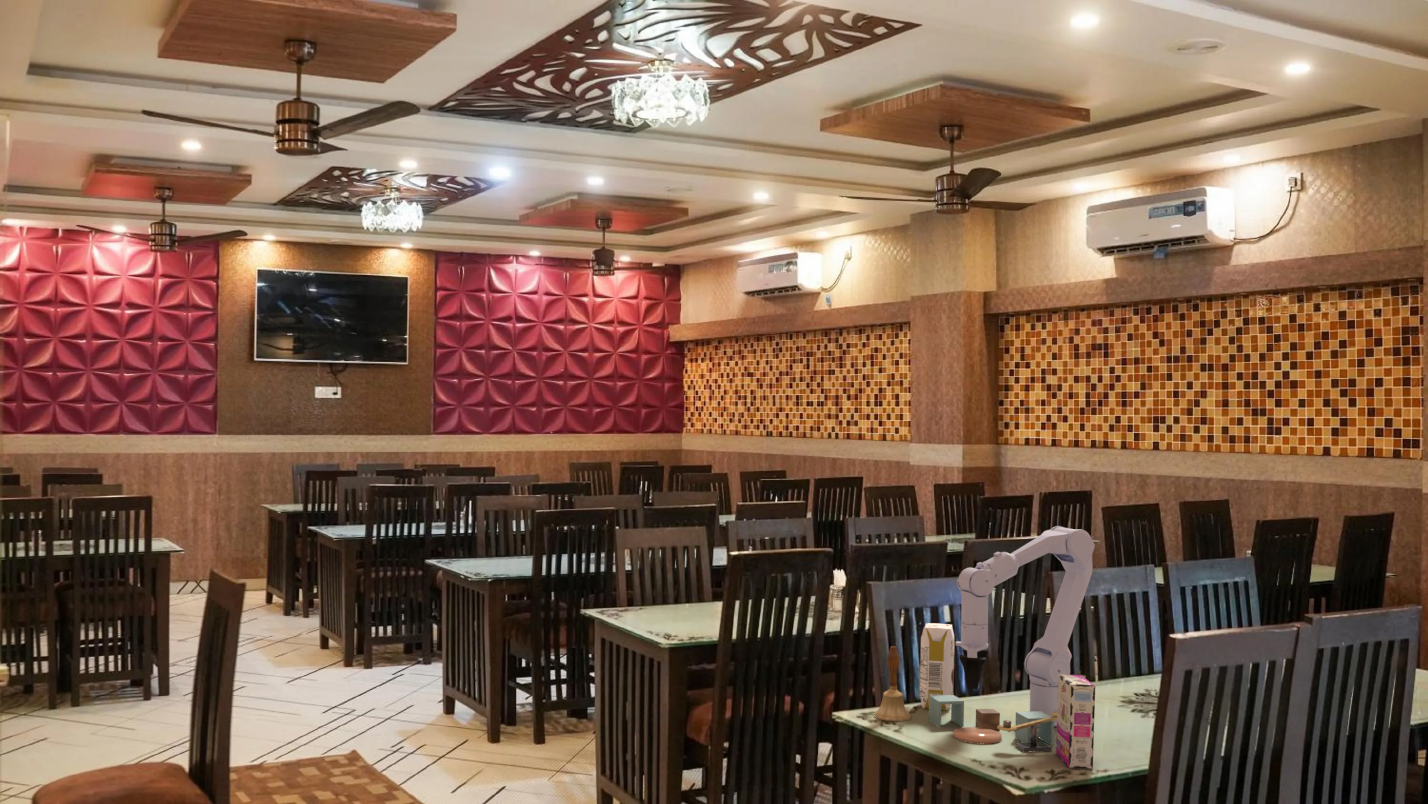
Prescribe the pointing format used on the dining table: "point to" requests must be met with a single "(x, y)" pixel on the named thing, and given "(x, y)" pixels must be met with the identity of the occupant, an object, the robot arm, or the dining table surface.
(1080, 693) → the candy bar box
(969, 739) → the terracotta dish
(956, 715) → the teal cover
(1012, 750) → the dining table surface
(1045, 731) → the teal cover
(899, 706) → the hand bell
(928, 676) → the juice carton
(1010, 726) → the balance
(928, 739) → the dining table surface
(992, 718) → the walnut block
